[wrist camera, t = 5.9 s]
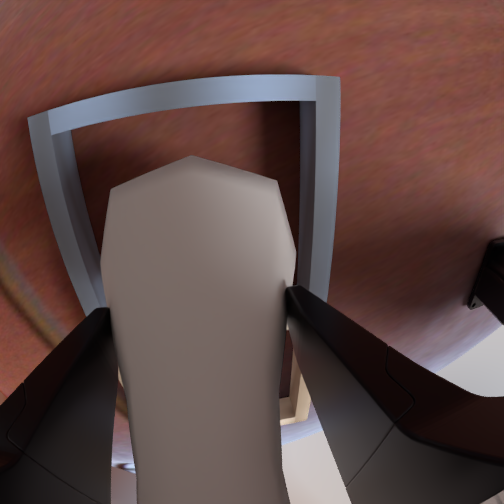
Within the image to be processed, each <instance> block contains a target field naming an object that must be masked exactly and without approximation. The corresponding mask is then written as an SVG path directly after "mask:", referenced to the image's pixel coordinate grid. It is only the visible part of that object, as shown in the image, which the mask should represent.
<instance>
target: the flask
mask: <svg viewBox="0 0 504 504" xmlns="http://www.w3.org/2000/svg"><path fill="white" fill-rule="evenodd" d="M295 261H296V249H295V245H294V241H293V237H292V234H291V230H290V226H289V222H288V219H287V215H286V211H285V208H284V204H283V200H282V197H281V193H280V190H279V186H278V183H277V180H274V179H270V178H267V177H264V176H261V175H258V174H255V173H251V172H248V171H245V170H242V169H238V168H235V167H232V166H228V165H225V164H221V163H218V162H214V161H211V160H207V159H204V158H200V157H196V156H193V155H191V156H188V157H186V158H183V159H180V160H178V161H175V162H173V163H170V164H168V165H165V166H163V167H160V168H158V169H155V170H153V171H151V172H148V173H146V174H143V175H141V176H139V177H136V178H134V179H132V180H130V181H127V182H125V183H123V184H121V185H118V186H116V187H114V188H112V189H111V191H110V196H109V202H108V208H107V214H106V221H105V228H104V235H103V243H102V251H101V261H100V264H101V274H102V281H103V287H104V293H105V298H106V304H107V307H109V308H110V323H111V329H112V335H113V341H114V346H115V351H116V356H117V361H118V366H119V371H120V375H121V380H122V384H123V388H124V392H125V396H126V400H127V409H128V419H129V428H130V437H131V444H132V451H133V458H134V464H135V471H136V476H137V504H290V500H289V497H288V492H287V488H286V483H285V479H284V474H283V471H282V452H281V451H282V449H281V426H280V404H279V388H280V380H281V372H282V364H283V356H284V347H285V338H286V329H287V319H288V310H287V302H286V294H285V290H286V288H287V287H288V286H292V284H293V277H294V270H295Z"/></svg>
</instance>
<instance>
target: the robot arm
mask: <svg viewBox="0 0 504 504" xmlns="http://www.w3.org/2000/svg"><path fill="white" fill-rule="evenodd" d="M285 294H286V302H287V310H288V319H287V324H288V328H289V332H290V336H291V340H292V345H293V349H294V353H295V357H296V360H297V363H298V366H299V369H300V372H301V374H302V377H303V379H304V382H305V384H306V387H307V390H308V392H309V395H310V397H311V400H312V402H313V405H314V408H315V410H316V413H317V415H318V418H319V420H320V423H321V426H322V428H323V431H324V433H325V436H326V438H327V441H328V443H329V446H330V449H331V451H332V454H333V457H334V459H335V461H336V464H337V467H338V469H339V472H340V475H341V477H342V480H343V482H344V485H345V487H346V490H347V493H348V496H349V498H350V501H351V503H352V504H504V397H484V396H479V395H476V394H473V393H470V392H468V391H466V390H464V389H462V388H460V387H459V386H457V385H455V384H453V383H451V382H449V381H447V380H445V379H444V378H442V377H440V376H438V375H436V374H434V373H433V372H431V371H429V370H427V369H425V368H424V367H422V366H420V365H418V364H417V363H415V362H413V361H412V360H410V359H409V358H407V357H406V356H404V355H403V354H401V353H400V352H398V351H397V350H395V349H394V348H392V347H391V346H388V345H387V344H386V343H385V342H383V341H382V340H380V339H379V338H377V337H376V336H374V335H373V334H372V333H370V332H369V331H367V330H366V329H364V328H363V327H361V326H360V325H358V324H357V323H356V322H354V321H353V320H351V319H350V318H348V317H347V316H345V315H344V314H342V313H341V312H339V311H338V310H337V309H335V308H334V307H332V306H331V305H329V304H328V303H326V302H325V301H323V300H322V299H320V298H319V297H318V296H316V295H315V294H313V293H312V292H310V291H309V290H307V289H306V288H304V287H303V286H301V285H294V286H288V287H287V288H286V290H285ZM483 305H484V306H485V307H486V308H487V309H488V310H489V311H490V312H491V313H492V314H493V315H494V316H495V317H496V318H497V319H498V321H499V322H500V323H501V324H502V325H504V239H500V240H495V241H492V242H491V243H490V245H489V247H488V250H487V253H486V256H485V259H484V262H483V265H482V268H481V270H480V273H479V276H478V279H477V281H476V284H475V287H474V289H473V292H472V294H471V297H470V299H469V302H468V304H467V307H468V308H469V309H470V310H472V309H475V308H477V307H480V306H483ZM118 370H119V366H118V361H117V356H116V351H115V346H114V341H113V335H112V329H111V323H110V308H109V307H99V308H95V309H94V310H93V311H92V312H91V313H90V314H89V315H88V316H87V317H86V318H85V319H84V320H83V321H82V322H81V323H80V324H79V325H78V326H77V327H76V328H75V329H74V330H73V331H71V332H70V333H69V334H68V335H67V336H66V337H65V338H64V339H63V340H62V341H61V342H60V343H59V344H58V345H57V346H56V348H55V349H54V350H53V351H52V352H51V353H50V354H49V355H48V356H47V357H46V358H45V359H44V360H43V361H42V362H41V363H40V364H39V365H38V366H37V367H36V368H35V369H34V370H33V371H32V372H31V373H30V374H29V376H28V377H27V378H26V379H25V380H24V383H21V384H20V385H19V386H18V387H17V388H16V390H15V391H14V392H13V393H12V394H11V395H10V396H9V397H8V398H7V399H6V400H5V401H4V402H3V403H2V404H1V405H0V504H111V461H112V442H113V428H114V416H115V406H116V396H117V388H118Z"/></svg>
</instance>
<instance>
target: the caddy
mask: <svg viewBox="0 0 504 504" xmlns="http://www.w3.org/2000/svg"><path fill="white" fill-rule="evenodd" d="M256 101H300V212H299V247H298V273H297V285H301V286H303V287H304V288H306V289H307V290H309V291H310V292H312V293H313V294H315V295H316V296H318V297H319V298H320V299H322V300H323V301H325V302H326V303H327V296H328V288H329V280H330V271H331V262H332V252H333V242H334V231H335V219H336V205H337V190H338V172H339V147H340V77H333V76H317V75H240V76H224V77H211V78H200V79H191V80H183V81H175V82H168V83H161V84H155V85H149V86H143V87H138V88H133V89H128V90H123V91H118V92H114V93H109V94H105V95H101V96H97V97H93V98H89V99H85V100H81V101H78V102H74V103H71V104H67V105H64V106H61V107H57V108H54V109H51V110H48V111H45V112H42V113H39V114H36V115H33V116H31V117H28V125H29V132H30V138H31V143H32V149H33V154H34V159H35V164H36V168H37V173H38V177H39V181H40V186H41V190H42V193H43V197H44V201H45V205H46V208H47V212H48V215H49V219H50V222H51V225H52V228H53V232H54V235H55V238H56V241H57V244H58V247H59V250H60V252H61V255H62V258H63V261H64V264H65V266H66V269H67V272H68V274H69V277H70V279H71V282H72V284H73V287H74V289H75V292H76V294H77V296H78V299H79V301H80V303H81V306H82V308H83V310H84V313H85V315H86V317H87V316H88V315H89V314H90V313H91V312H92V311H93V310H94V309H95V308H99V307H107V304H106V298H105V293H104V287H103V281H102V274H101V264H100V261H101V257H100V254H99V251H98V247H97V244H96V241H95V237H94V234H93V230H92V227H91V223H90V219H89V215H88V212H87V208H86V204H85V199H84V195H83V191H82V187H81V182H80V177H79V173H78V168H77V163H76V158H75V152H74V147H73V141H72V135H71V130H72V129H75V128H79V127H83V126H87V125H91V124H96V123H100V122H104V121H109V120H113V119H118V118H123V117H128V116H134V115H139V114H145V113H151V112H157V111H163V110H170V109H177V108H185V107H193V106H203V105H213V104H224V103H238V102H256ZM286 330H289V328H288V324H287V329H286ZM118 379H119V381H120V383H121V384H122V380H121V375H120V371H119V370H118ZM122 386H123V384H122ZM310 401H311V397H310V395H309V392H308V390H307V387H306V384H305V382H304V379H303V377H302V374H301V372H300V369H299V366H298V363H297V360H296V357H295V353H294V349H293V358H292V371H291V383H290V394H289V397H286V398H280V399H279V404H280V425H285V424H290V423H295V422H300V421H304V420H307V416H308V411H309V406H310Z"/></svg>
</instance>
